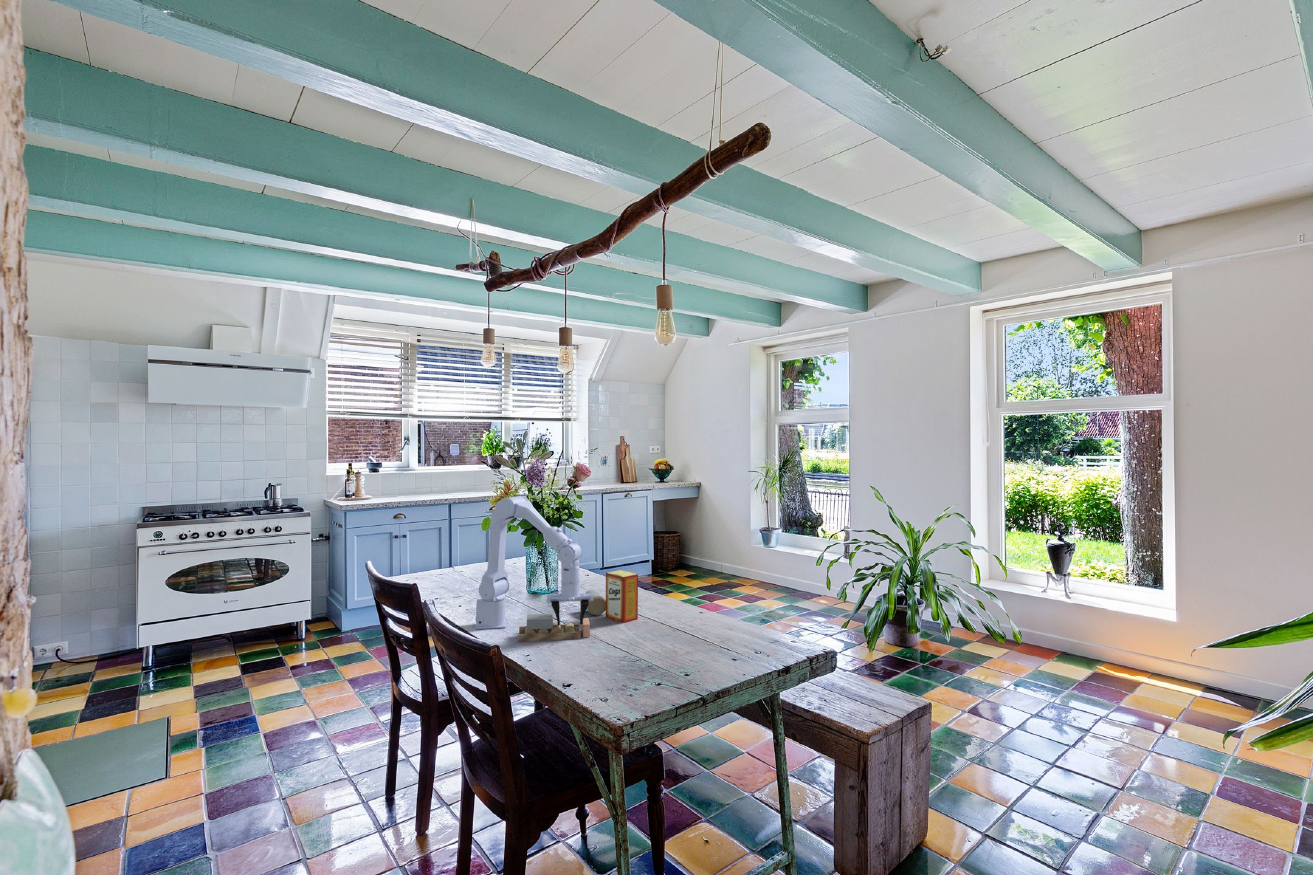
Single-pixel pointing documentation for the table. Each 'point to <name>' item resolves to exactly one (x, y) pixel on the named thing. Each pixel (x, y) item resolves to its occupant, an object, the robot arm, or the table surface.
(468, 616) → the table surface
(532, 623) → the slab
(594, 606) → the ceramic mug
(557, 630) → the roller track
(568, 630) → the roller
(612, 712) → the table surface
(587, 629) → the block
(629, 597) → the baking soda box
